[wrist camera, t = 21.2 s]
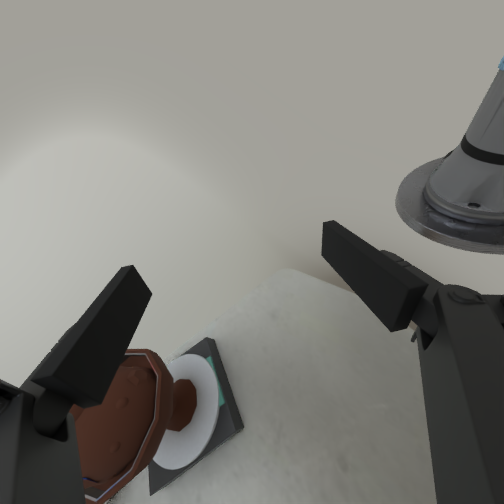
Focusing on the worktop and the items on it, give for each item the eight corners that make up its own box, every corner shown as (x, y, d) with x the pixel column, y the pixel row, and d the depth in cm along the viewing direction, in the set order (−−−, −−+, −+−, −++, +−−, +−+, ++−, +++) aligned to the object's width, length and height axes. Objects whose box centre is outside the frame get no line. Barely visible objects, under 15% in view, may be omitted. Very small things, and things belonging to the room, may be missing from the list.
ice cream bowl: (131, 434, 24) (-55, 483, 12) (174, 345, 29) (70, 322, 18) (187, 491, 19) (-40, 661, 7) (227, 371, 24) (129, 363, 12)
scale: (214, 339, 30) (204, 336, 28) (244, 427, 22) (233, 432, 20) (155, 381, 30) (140, 381, 28) (164, 486, 22) (145, 499, 20)
